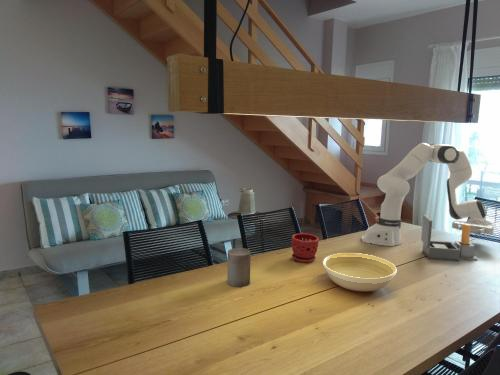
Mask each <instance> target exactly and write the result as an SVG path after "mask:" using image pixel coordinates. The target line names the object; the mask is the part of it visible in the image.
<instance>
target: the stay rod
mask: <svg viewBox="0 0 500 375" xmlns="http://www.w3.org/2000/svg"><path fill="white" fill-rule="evenodd" d="M470 227H471V225H468V224H463V227H462V230H461V236H460V237H461V238H460V242H461V245H469V243H470V238H471V237H470V236H471V235H470V234H471V232H470Z"/></svg>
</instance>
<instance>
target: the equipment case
mask: <svg viewBox="0 0 500 375" xmlns="http://www.w3.org/2000/svg"><path fill="white" fill-rule="evenodd" d="M421 227H422V228H421V240H420V241H421V242H422V252H423V254H425V256H426V258H427V259H428V260H434V261H435V260H436V261H447V262H448V261H449V262H459V261H460V259H459V252H460V250H459V249H458V248H457V247H456V246H455V243H453V241H441V240H431V238H432V227H433V220H432V219H431V218H430V217H429V216H428V215H427V214H423V215H422V225H421Z"/></svg>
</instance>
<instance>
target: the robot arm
mask: <svg viewBox="0 0 500 375" xmlns="http://www.w3.org/2000/svg"><path fill="white" fill-rule="evenodd" d="M467 156H468V155H467V154H466V153H465V151H464V150H463V149H460V148H459V149H458V148H456V147H455V146H454V145H451V144H446V143H445V144H444V143H432V144H428V143H426V142H420V143H419V144H417V145H416V146H415V147H413V148H412V149H411V150H410V151H409V152H408V153H407V154H406V155H405V157H404V158H403V159H402V160H401V161H400V162H399V163H398V164H397V165H396V166H394V167H393V168H391V169H390V170H389V171H388V172H386V173H385V174H383V175H381V176H379V177H378V179H377V182H376V185H377V187H378V189H379V190H380V191H381V192H382V193H384V194H385V197H384V200H383V202H382V203H381V205H380V214H379V217H378V216H375V217H374V219H375V221H376V223H375V224H372V226H370V227H368V228H367V229H366V230H365V233H364V235H362V236H361V238H360V239H362V240H361V241H362V242H363V243H365V242H366V243H365V244H370V243H372V244H371V245H380V246H386V247H394V246H399V245H401V244H402V243H403V242H402V237H401V227H402V218H401V214H402V208H403V207H402V205H403V203H404V201H405V197H406V196H407V195H408V194H410V189H411V186H410V185H411V184H409V182H408V181H409V180H410V179H412V178H414V177H416V175H417V174H419V172H420V171H421V170H422V169H423V168H424V166H425V165H427V163H429V162H431V163H437V164H446V165H447V166H448V167H447V168H448V171H449V177H448V178H447V180H446V192H447V199H448V212H449V213H448V214H449V216H450V218H452V219H454V221H452V222H451V228H452V229H455V230H460V231H462V227H463V224H468V225H471V227H470V234H487V235H493V234H494V230H495V228H494V227H495V226H494V223H493V222H492V221H488V220H487V219H486V216H487V209H486V206H485V204H484V202H482V201H481V200H479V199H471V200H465V201H461V202H460V201H459V202H458V201H457V195H456V194H457V193H456V189H457V188H459V187H460V186H461V185H464V184H465V183H467V182H468V181H469V180H470V178H472V174H473V171H472V170H473V169H472V167H471V166H472V165H471V163H470V161H469V158H468V157H467ZM466 218H468V219H467V220H466V221H463V220H462V219H466Z"/></svg>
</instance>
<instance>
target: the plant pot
mask: <svg viewBox="0 0 500 375" xmlns="http://www.w3.org/2000/svg"><path fill="white" fill-rule="evenodd" d="M319 241H320V240H319V237H318V236H316V235H313V234H310V233H294V234H293V235H292V236H291V248H292V254H291V257H292V259H293V260H294V261H296V262H297V263H298V262H299V263H303V264H304V263H305V264H307V263H312V262H314V261H315V260H316V256H315V255H316V254H317V252H318V248H319Z"/></svg>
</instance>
